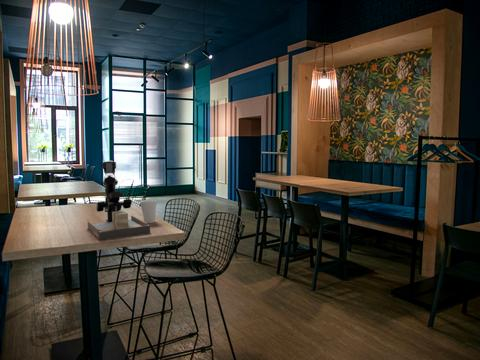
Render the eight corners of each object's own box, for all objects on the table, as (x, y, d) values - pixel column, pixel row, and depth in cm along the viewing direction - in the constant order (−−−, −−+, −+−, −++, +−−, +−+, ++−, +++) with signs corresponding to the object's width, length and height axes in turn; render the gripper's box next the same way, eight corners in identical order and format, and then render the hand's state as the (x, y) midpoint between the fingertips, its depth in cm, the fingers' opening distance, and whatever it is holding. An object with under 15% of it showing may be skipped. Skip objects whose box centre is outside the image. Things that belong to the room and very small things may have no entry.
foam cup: (140, 221, 244) (139, 200, 242) (155, 219, 247) (154, 199, 246) (142, 224, 235) (141, 202, 233) (158, 222, 238) (157, 201, 237)
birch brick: (112, 227, 217) (111, 211, 216) (123, 226, 220) (122, 210, 219) (117, 231, 208) (116, 214, 207) (128, 229, 211) (127, 213, 210)
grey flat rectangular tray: (88, 228, 226) (87, 220, 226) (133, 222, 240) (132, 215, 239) (100, 240, 198) (99, 231, 198) (150, 232, 211) (149, 224, 211)
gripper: (96, 187, 216) (101, 210, 208) (129, 184, 226) (136, 206, 217) (94, 200, 224) (99, 222, 215) (127, 197, 233) (133, 218, 225)
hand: (117, 217), depth 218 cm, fingers closed
